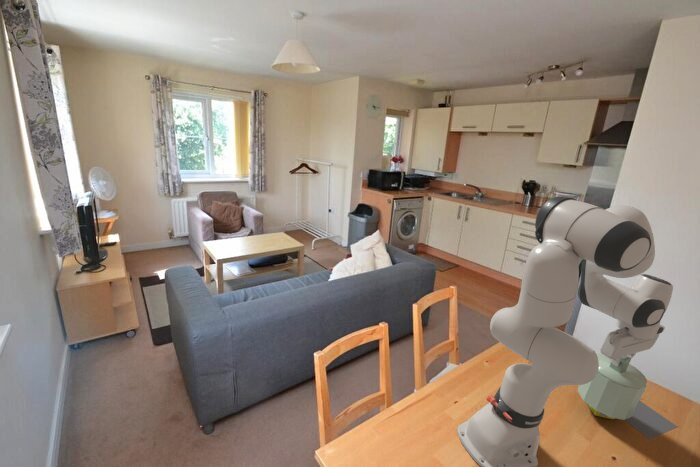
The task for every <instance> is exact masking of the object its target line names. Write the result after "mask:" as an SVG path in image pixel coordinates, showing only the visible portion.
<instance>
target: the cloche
mask: <svg viewBox="0 0 700 467" xmlns="http://www.w3.org/2000/svg"><path fill="white" fill-rule="evenodd" d="M596 354H597V357H598V361H599V369H598V373H597V375H596V376H595V378H594V379H593V380H592V381H590V382H588V383H586V384H584V385H578V388H577V393H578V394H579V396H580V397H581V399H582V400H583V401H584V402H585V403H586V405H587V404H588V405H590V406H591V407H592V408H594V409H595V410H596V411H598V412H600V413H603V414H605V415H607V416H609V417H611V418H615V419H616V420H617V419H618V420H623V421H625V419H628V418H630V417H632V415H633V413H634V411H635V409H636V407H637V405H638V403H639V401H641V398H642V396H643V394H644V392H645V390H646V388H647V382H648V381H647V378H646V376H645V375H644V374H643V373H642V371H641V370H639V369H638V368H637V367H636V366H634V365H632V364H631V360H632V359H631V358H630V357H628V356H623V357H622V358H621V361H622V363H621V365H619V366H615V365H613V364H612V360H613V359H610V358H608V357H606V356H605V355H603V354H602V353H596ZM588 405H587V406H588Z"/></svg>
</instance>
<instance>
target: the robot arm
mask: <svg viewBox="0 0 700 467" xmlns="http://www.w3.org/2000/svg"><path fill="white" fill-rule="evenodd" d="M534 225H535V226H534V227H535V232H534V234H535V239H536V240H537V241H538V243H539V244H537V245H536V246H534V247H533V248H532V249H531V250H530V252H529V254H528V256H527V259H526V262H525V264H524V268H523V271H522V277H521V285H520V293H519V298H518V302H517V303H516V305H513V306H511V307H503V308H501V309H498V310H497V311H496V312H495V313H494V314H493V316H492V317H491V320H490V323H489V324H490V325H489V328H490V333H491V336H492V337H493V338H494V339H495V340H497V341H498V343H501V344H502V346H504V347H505V348H506V349H508V350H509V351H512V352H513V353H515V354H517V355H518V356H520V357H522V358H523V359H525V360H526V361H528V362H529V363H531V364H529V363H514V364H511V365H510V366H508V367H507V369H506V370H505V372H504V375H503V379H502V381H501V385H500V386H499V388H498V389H497V390H496V392H495V394H494V396H493V395H492V394H488V395H487V397H486V399H485V400H486V401H487V402H488V403H487V404H485V405H484V406H483V407H482V408H480V409H479V410H478V411H477V412H475V413H474V414H473V415H471V417H470V418H469V419H468V420H466V421H465V422H463V423H460V424H459V425H458V427H457V429H456V431H457V435H458V436H457V437H458V438H459V440H460V442H461V444H462V446H463V447H464V449H465V450H466V452H467V453H468V454H469V456H470V457H471V458H472V459H473V460H474V461H475V462H476V463H477V464H478V465H479V466H480V467H538V465H539V460H538V458H537V454H538V449H539V444H540V439H541V434H540V424H541V423H542V420H543V418H544V415H545V406H546V403H547V401H548V398H549V397H550V395H551V393H553V391H554V390H556V389H557V388H558V389H559V388H560V387H563V386H578V387H579V385H584V384H586V383H588V382H590V381H592V380H593V379H594V378H595V376H596V375H597V373H598V369H599V361H598V357H597V354H598V353H596V351H595V350H594V349H592V348H591V347H590V346H588V345H587V344H586V343H584V342H583V341H582V340H580V339H578V338H577V337H575V336H573V335H572V334H569V333H567V332H564V331H562V330H561V329H559V328H557V327H560V326H563V325H565V324H566V323H568V321H570V320H571V319H572V318H571V317H572V316H573V310H574V307H575V302H576V297H577V295H578V298H579V301H580V303H581V304H582V305H584V306H586V307H588V308H591V309H592V310H593V309H594V310H596V311H599V313H600V312H601V313H602V314H605V315H607V316H609V317H611V318H613V319H615V320H616V323H615V324H616V326H617V328H618V329H615V330H613V331H610V332H609V333H608V334H607V335H606V337H605V338H604V341H603V342H602V345H601V347H600V348H599V350H600V354H603V355H605V356H606V357H608V358H610V359H613V360H612V364H613V365H615V366H619V365H621V363H622V361H621V358H622V357H623V356H628V357H630V358H631V360H632V359H633V358H634V357H635V356H636V354H637V353H640V352H644V351H648V350H651V349H652V348H653V347H654V345H655V343H656V342H657V340H658V338H659V337H660V334H662V333H663V332H664V331H665V326H664V325H662V324H661V320H662V319H663V316H664V314H665V313H666V312H667V309H668V307H669V305H670V301H671V298H672V295H673V291H674V290H673V289H674V285H673V284H672V283H671V282H669V281H667V280H665V279H662V278H661V277H660V278H659V277H656V276H653V275H650V274H647V273H646V274H644V273H645V272H647V271H648V270H649V269H650V268H651V267H652V265H653V263H654V260H655V256H656V250H655V248H656V247H655V246H656V245H655V239H654V238H655V237H654V233H653V230H652V227H651V224H650V222H649V219H648V218H647V216H646V215H645V213H644V212H643V211H641V210H640V209H638V208H636V207H634V206H630V205H629V206H628V205H616V206H610V207H609V208H606V209H604V208H603V207H600V206H597V205H595V204H591V203H588V202H586V201H585V202H584V201H580V200H578V199H576V198H573V197H570V196H555V197H552V198H550V199H548V200H547V201H545V202H544V203H543V204H542V205H541V206H540V208H539V209H538V211H537V213H536V217H535V223H534ZM580 265H581V269H579V268H580V267H579V266H580ZM580 270H581V271H580ZM605 276H607V277H610V278H611V277H612V278H616V279H629V278H633V277H634V278H635V277H636V279H634V280H635V281H634V282H633V284H632V286H631V288H630V287H628V286H625V285H623V284H620V283H618V282H615V281H613V280H610V278H609V279H608V278H607V277H605ZM579 277H580V282H579ZM579 283H580V284H579Z"/></svg>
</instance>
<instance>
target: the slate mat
mask: <svg viewBox="0 0 700 467" xmlns="http://www.w3.org/2000/svg"><path fill="white" fill-rule="evenodd" d="M624 421H625V422H626V423H628V424H629V425H630V426H632V427H633V428H634V429H635V430H637V431H638V432H640V433H641V434H642V435H644V436H645V437H646V438H648V440H652V439H654V438H656V437H658V436H661V435H663V434H665V433H667V432H670V431H671V430H674V429H676V428H678V425H676V424H675V423H673V422H672V421H671V420H669V419H667V418H666V417H665V416H664V415H661V414H660V413H659V412H658V411H656V410H654V409H653V408H651V407H650V406H648V404H646V403H644V402H643V401H641V400H640V401H639V403H638V405H637V407H636V409H635V411H634V413H633V415H632V417H630V418H628V419H625V420H624Z"/></svg>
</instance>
